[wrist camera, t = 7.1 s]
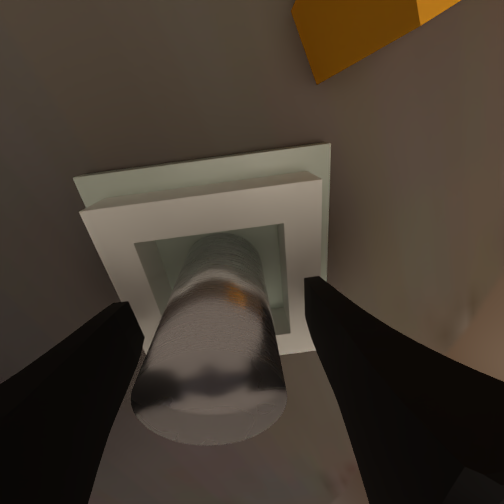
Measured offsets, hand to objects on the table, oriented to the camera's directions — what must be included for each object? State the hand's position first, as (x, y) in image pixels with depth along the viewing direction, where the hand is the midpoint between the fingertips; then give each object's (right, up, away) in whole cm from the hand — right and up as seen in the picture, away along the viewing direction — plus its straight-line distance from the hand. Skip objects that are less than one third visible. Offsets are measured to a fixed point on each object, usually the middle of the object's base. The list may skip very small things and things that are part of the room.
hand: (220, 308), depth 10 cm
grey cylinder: (0, +1, +3) cm, 3 cm away
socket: (0, +2, +4) cm, 4 cm away
